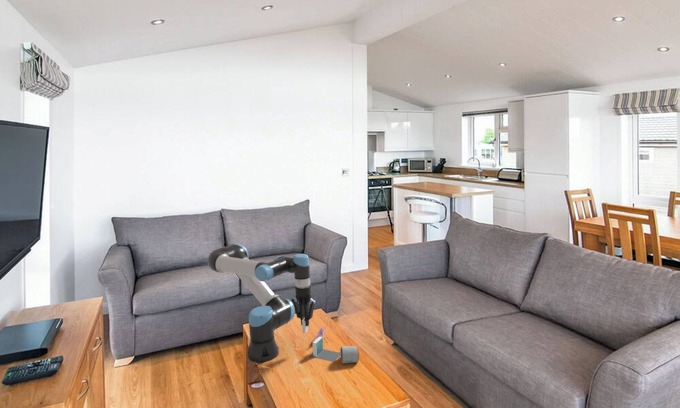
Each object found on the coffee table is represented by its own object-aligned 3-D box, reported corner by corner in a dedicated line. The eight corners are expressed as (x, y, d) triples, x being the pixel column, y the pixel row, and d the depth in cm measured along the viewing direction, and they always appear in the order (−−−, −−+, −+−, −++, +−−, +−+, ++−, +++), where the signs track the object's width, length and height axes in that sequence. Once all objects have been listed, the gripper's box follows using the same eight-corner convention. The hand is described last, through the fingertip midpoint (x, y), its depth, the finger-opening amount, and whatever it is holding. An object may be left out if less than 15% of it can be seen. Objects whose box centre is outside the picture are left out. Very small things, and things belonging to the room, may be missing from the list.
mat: (308, 357, 206) (308, 356, 206) (317, 348, 214) (317, 348, 214) (334, 362, 200) (334, 361, 200) (342, 353, 208) (342, 353, 208)
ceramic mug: (360, 364, 197) (359, 349, 196) (342, 366, 196) (342, 351, 195) (355, 354, 208) (355, 339, 207) (339, 356, 206) (338, 341, 205)
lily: (329, 337, 228) (320, 322, 229) (339, 336, 219) (330, 320, 219) (312, 351, 222) (303, 335, 222) (322, 351, 212) (312, 334, 212)
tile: (313, 356, 206) (312, 342, 205) (320, 349, 212) (319, 336, 211) (316, 356, 205) (315, 343, 204) (323, 350, 212) (322, 337, 211)
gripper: (287, 286, 207) (290, 332, 210) (310, 289, 201) (313, 336, 204) (295, 282, 213) (298, 326, 216) (318, 284, 208) (320, 330, 211)
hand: (305, 331), depth 210 cm, fingers closed
